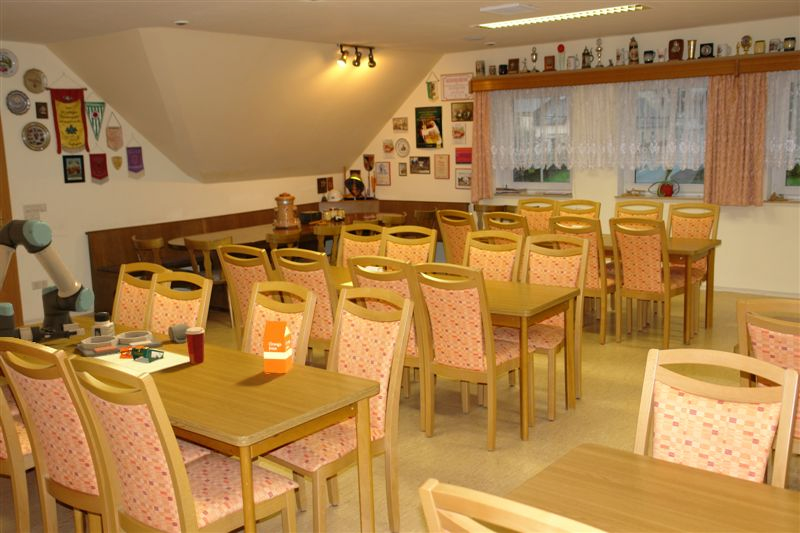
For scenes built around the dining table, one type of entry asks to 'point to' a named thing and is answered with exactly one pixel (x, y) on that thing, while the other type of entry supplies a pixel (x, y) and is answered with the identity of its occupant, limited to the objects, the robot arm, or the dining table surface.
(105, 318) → the container
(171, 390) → the dining table surface
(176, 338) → the ceramic mug
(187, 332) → the paper cup
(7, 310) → the robot arm
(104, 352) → the ring board
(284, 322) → the orange juice
